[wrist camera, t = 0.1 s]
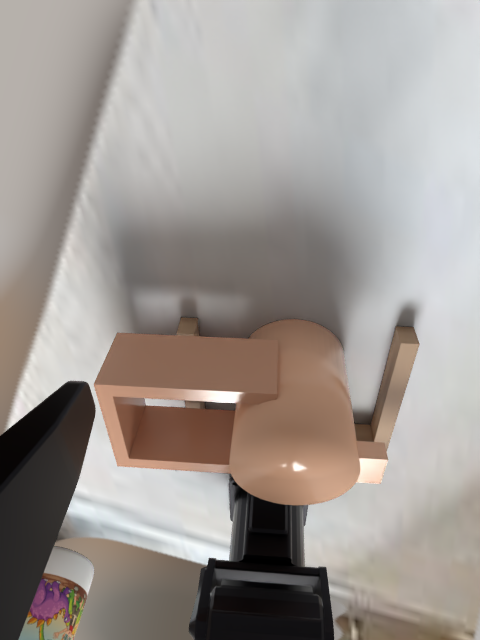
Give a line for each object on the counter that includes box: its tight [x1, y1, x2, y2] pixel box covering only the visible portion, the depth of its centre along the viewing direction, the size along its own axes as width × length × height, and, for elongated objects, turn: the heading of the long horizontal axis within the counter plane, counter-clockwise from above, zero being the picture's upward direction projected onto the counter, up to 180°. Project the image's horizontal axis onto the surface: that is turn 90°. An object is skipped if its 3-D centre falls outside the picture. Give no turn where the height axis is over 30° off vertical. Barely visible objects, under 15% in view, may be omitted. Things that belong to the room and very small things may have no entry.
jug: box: [94, 319, 388, 505], centre depth 26 cm, size 14×7×8 cm, turn 91°
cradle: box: [177, 317, 419, 452], centre depth 29 cm, size 10×14×2 cm
